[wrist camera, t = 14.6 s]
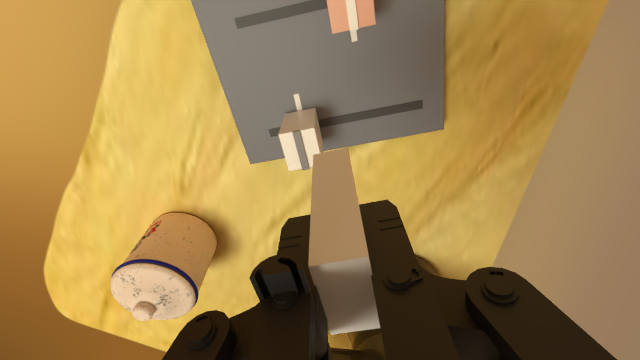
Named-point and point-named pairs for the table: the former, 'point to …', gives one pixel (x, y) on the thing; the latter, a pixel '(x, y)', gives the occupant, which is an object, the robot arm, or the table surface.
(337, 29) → the fader
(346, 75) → the mixer board
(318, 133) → the fader
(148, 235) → the teacup with lid
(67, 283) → the table surface
